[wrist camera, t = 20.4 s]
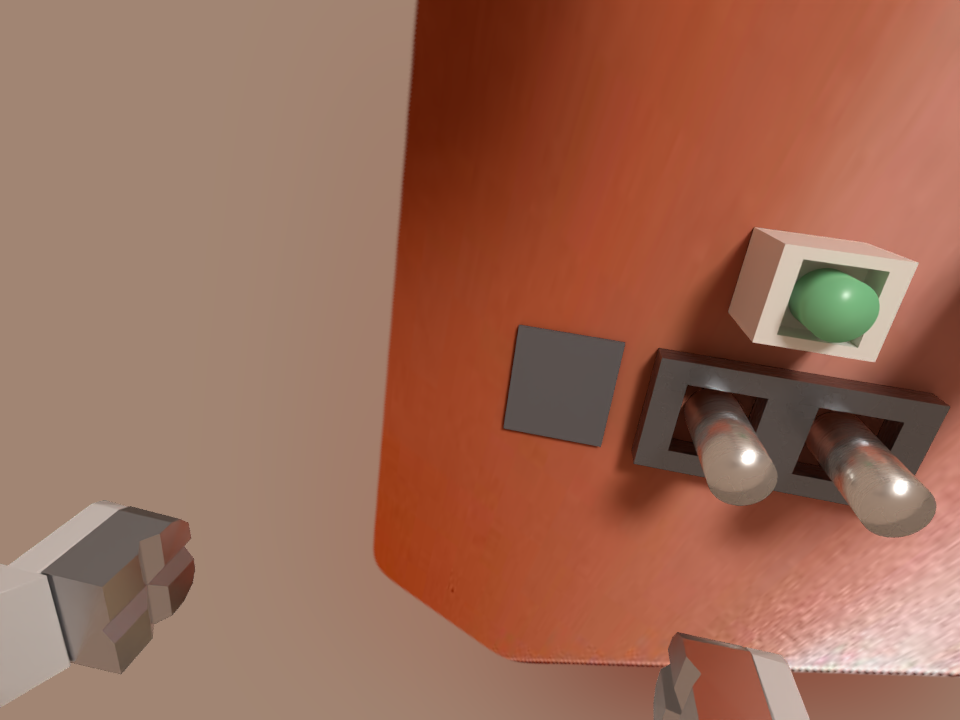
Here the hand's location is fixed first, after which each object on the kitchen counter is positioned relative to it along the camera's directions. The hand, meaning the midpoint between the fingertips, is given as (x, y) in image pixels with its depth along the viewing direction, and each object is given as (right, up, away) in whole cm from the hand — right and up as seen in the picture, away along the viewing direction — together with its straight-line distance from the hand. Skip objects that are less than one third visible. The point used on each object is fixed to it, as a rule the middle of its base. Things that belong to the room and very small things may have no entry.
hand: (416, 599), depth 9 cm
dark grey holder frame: (+23, -1, +32) cm, 40 cm away
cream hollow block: (+22, +9, +28) cm, 37 cm away
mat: (+7, +2, +34) cm, 35 cm away
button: (+22, +8, +24) cm, 33 cm away
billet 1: (+19, 0, +33) cm, 38 cm away
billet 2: (+28, -2, +32) cm, 42 cm away
